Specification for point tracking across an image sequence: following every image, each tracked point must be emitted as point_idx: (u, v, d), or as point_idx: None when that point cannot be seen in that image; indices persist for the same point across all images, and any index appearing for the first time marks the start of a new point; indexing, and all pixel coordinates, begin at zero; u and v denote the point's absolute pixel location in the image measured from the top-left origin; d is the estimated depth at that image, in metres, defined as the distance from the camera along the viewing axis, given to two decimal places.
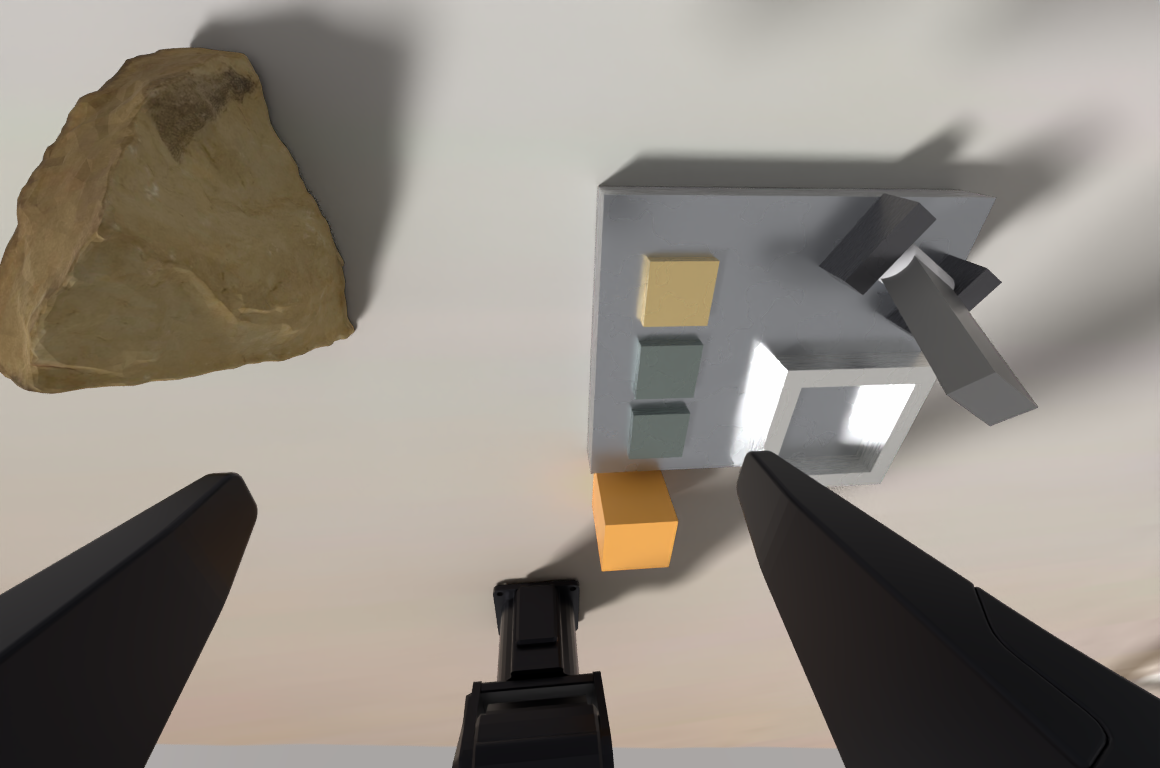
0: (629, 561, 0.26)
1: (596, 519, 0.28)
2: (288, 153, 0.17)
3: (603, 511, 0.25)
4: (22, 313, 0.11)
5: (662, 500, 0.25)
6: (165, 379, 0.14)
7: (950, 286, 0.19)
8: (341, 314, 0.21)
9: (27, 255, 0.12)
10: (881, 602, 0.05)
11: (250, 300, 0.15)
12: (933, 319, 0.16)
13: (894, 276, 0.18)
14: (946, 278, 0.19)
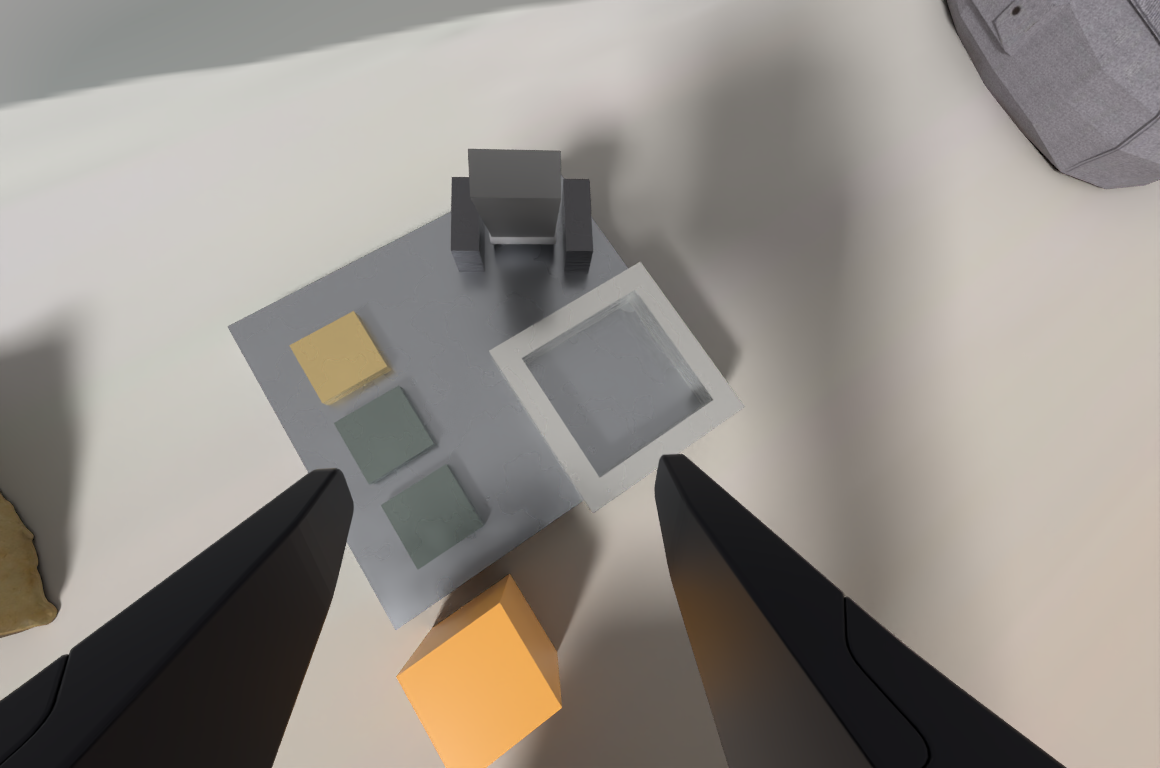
0: (487, 733, 0.15)
1: None
2: None
3: (407, 665, 0.16)
4: None
5: (492, 600, 0.17)
6: None
7: None
8: (30, 595, 0.18)
9: None
10: (750, 612, 0.05)
11: None
12: None
13: None
14: None
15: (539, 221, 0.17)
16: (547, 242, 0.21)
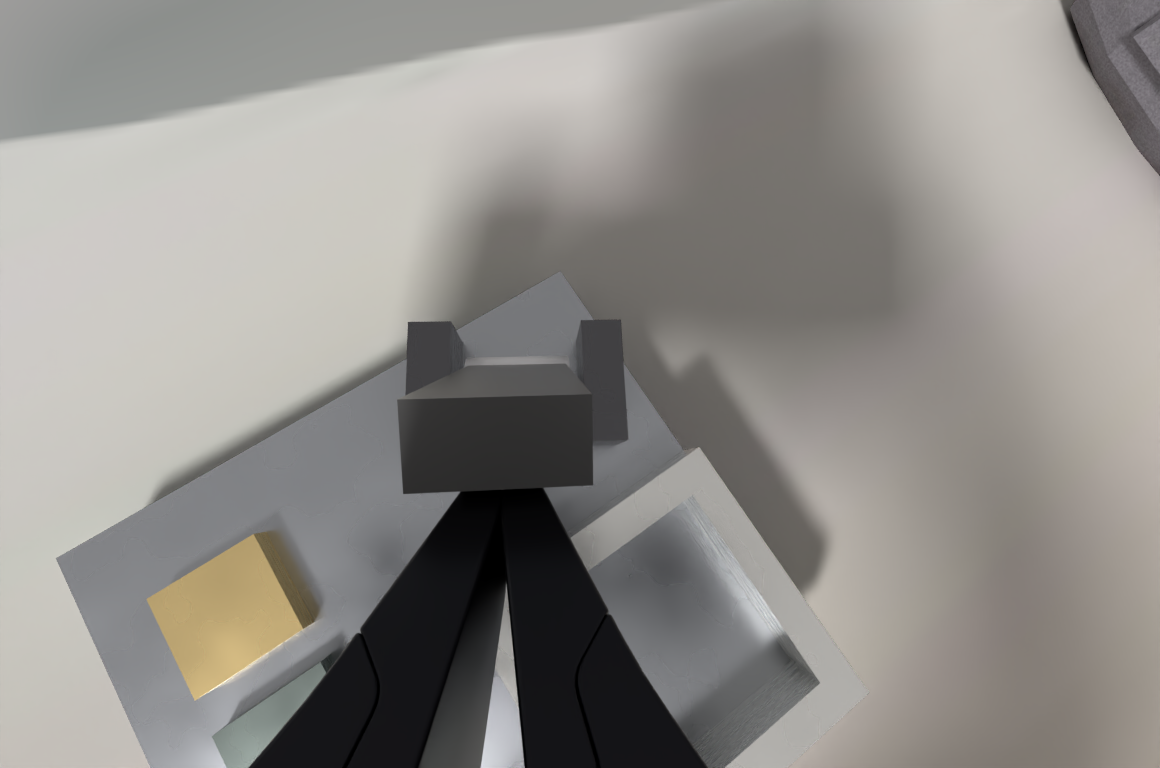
0: None
1: None
2: None
3: None
4: None
5: None
6: None
7: (559, 363, 0.13)
8: None
9: None
10: (511, 630, 0.05)
11: None
12: None
13: None
14: (549, 359, 0.13)
15: None
16: None
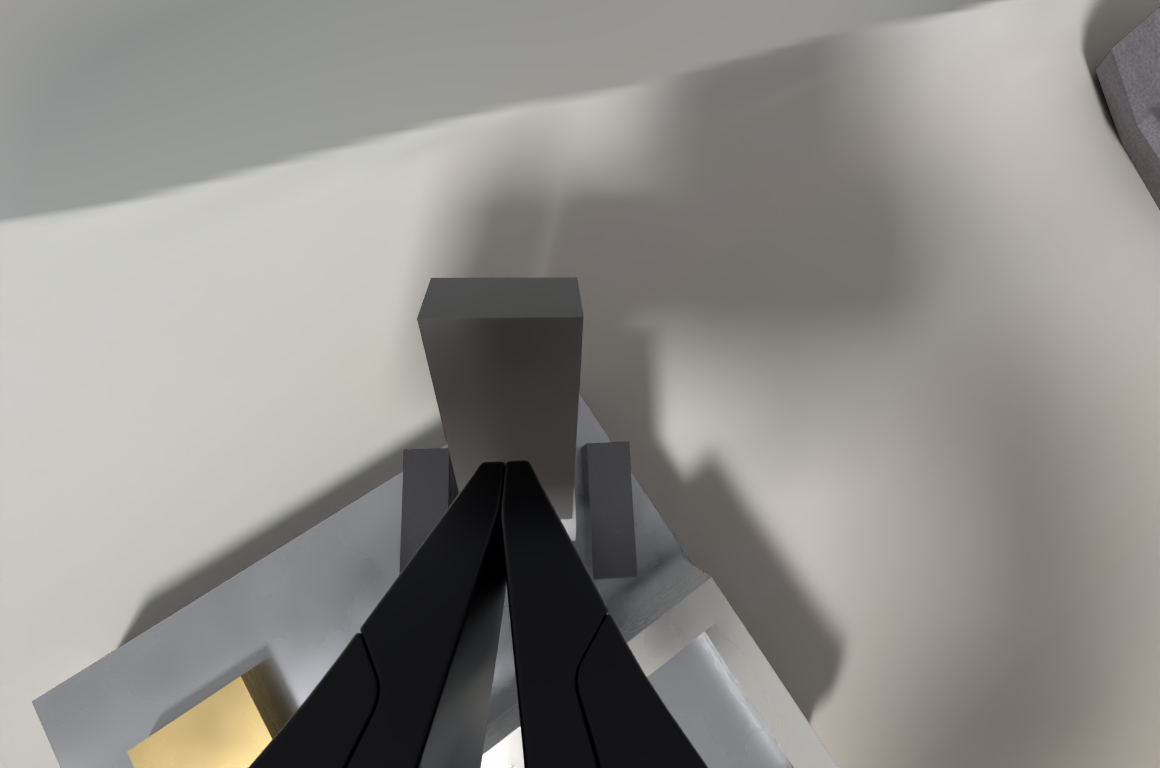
0: None
1: None
2: None
3: None
4: None
5: None
6: None
7: None
8: None
9: None
10: (511, 630, 0.05)
11: None
12: None
13: None
14: None
15: (546, 441, 0.10)
16: None
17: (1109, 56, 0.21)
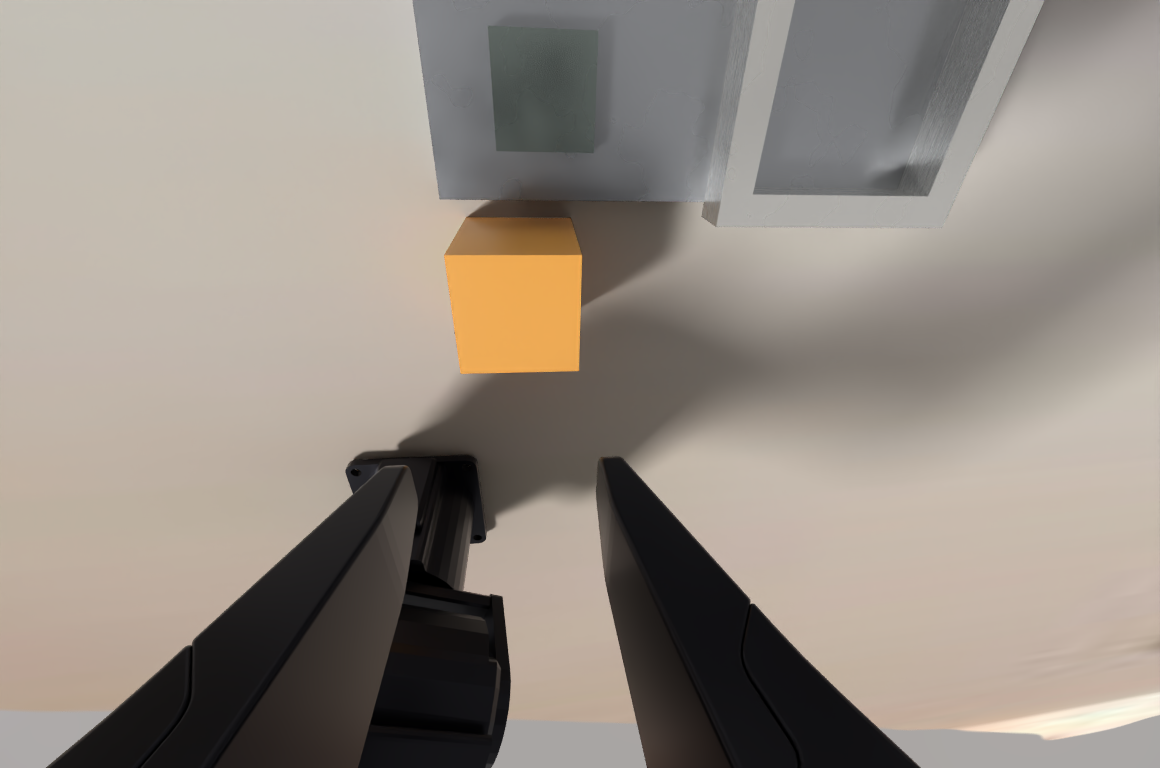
0: (506, 352, 0.15)
1: None
2: None
3: None
4: None
5: (562, 241, 0.14)
6: None
7: None
8: None
9: None
10: (655, 619, 0.05)
11: None
12: None
13: None
14: None
15: None
16: None
17: None
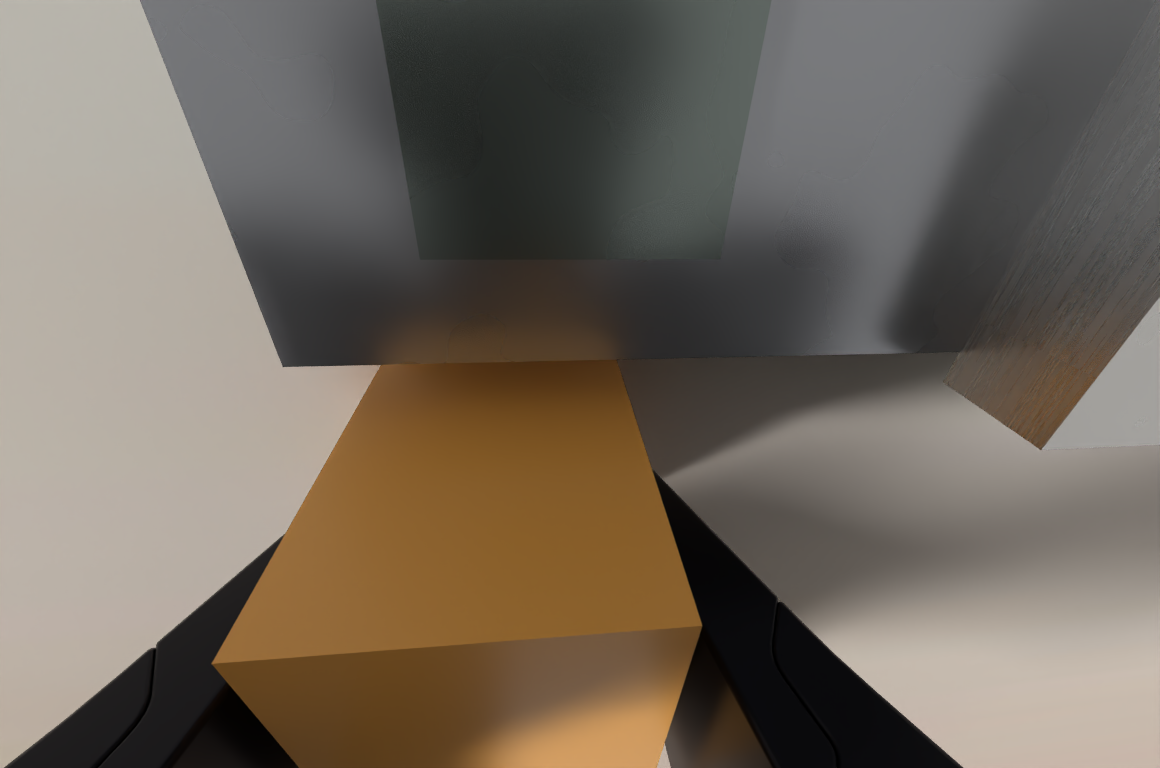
0: None
1: None
2: None
3: (280, 557, 0.04)
4: None
5: (618, 497, 0.05)
6: None
7: None
8: None
9: None
10: None
11: None
12: None
13: None
14: None
15: None
16: None
17: None
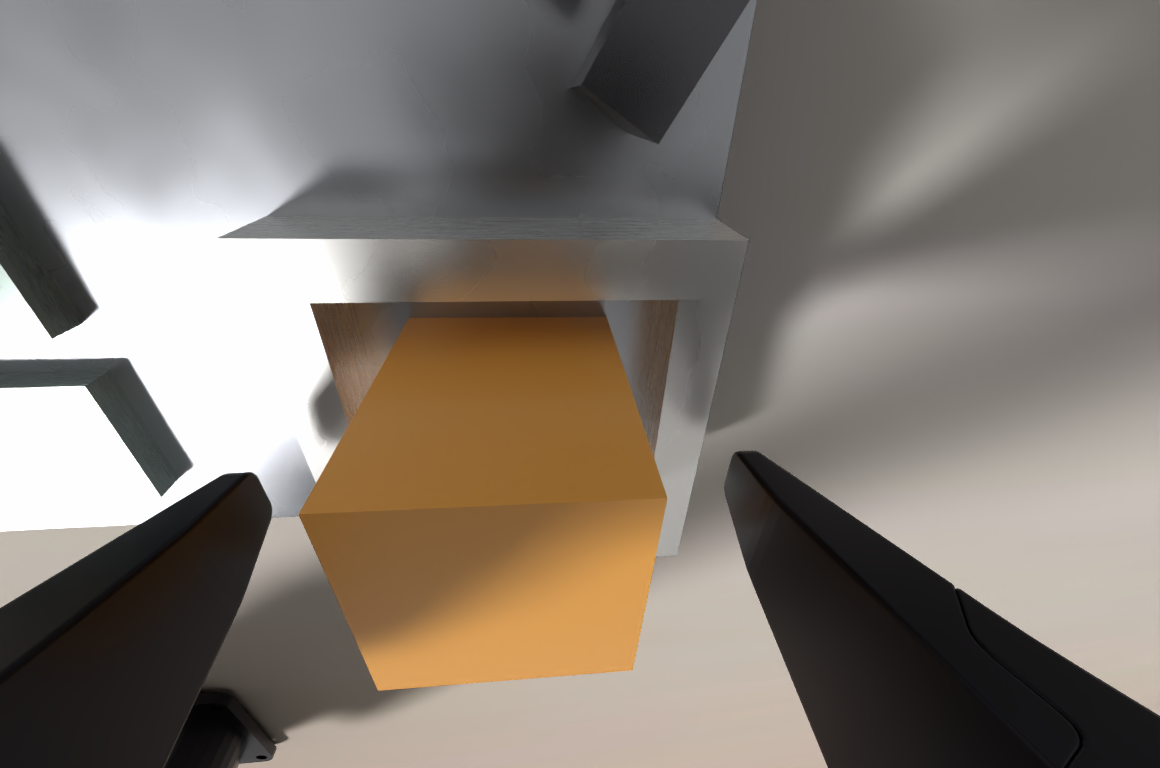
0: (478, 656, 0.07)
1: None
2: None
3: (338, 454, 0.06)
4: None
5: (606, 418, 0.06)
6: None
7: None
8: None
9: None
10: (861, 603, 0.05)
11: None
12: None
13: None
14: None
15: None
16: None
17: None
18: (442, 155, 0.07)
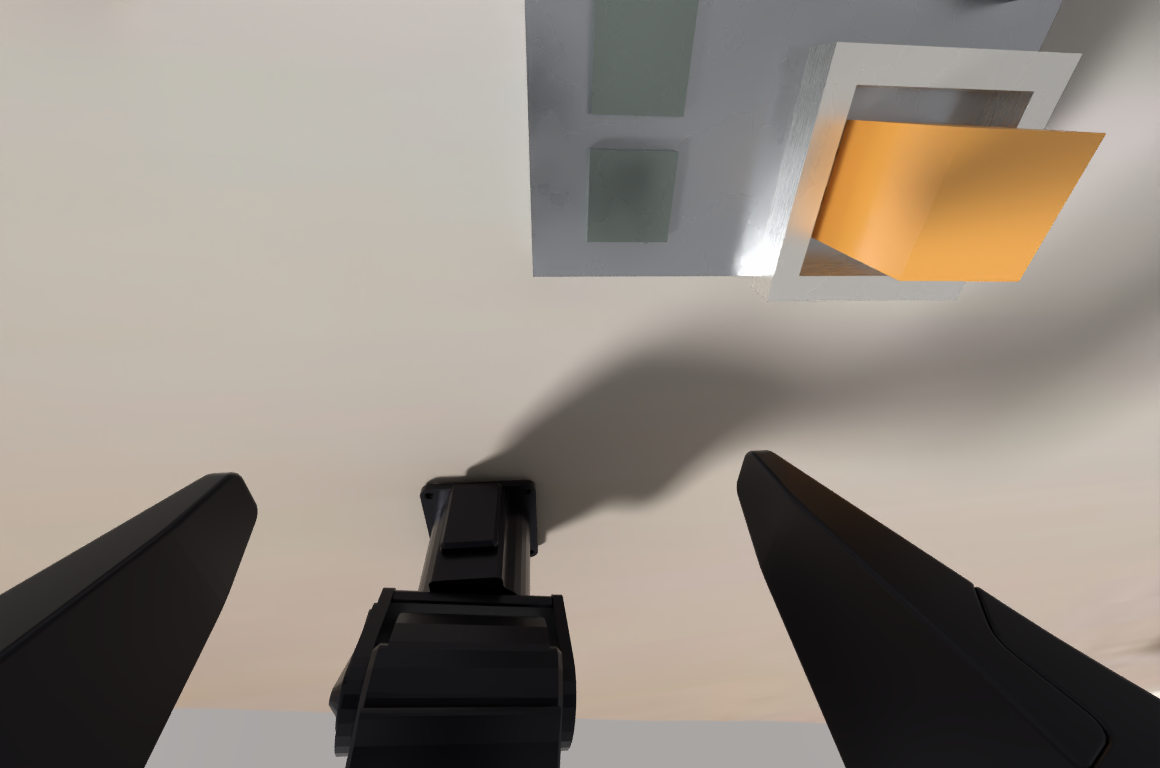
0: (960, 255, 0.13)
1: (853, 221, 0.15)
2: None
3: (936, 127, 0.12)
4: None
5: (1033, 129, 0.13)
6: None
7: None
8: None
9: None
10: (881, 602, 0.05)
11: None
12: None
13: None
14: None
15: None
16: None
17: None
18: (913, 12, 0.14)
